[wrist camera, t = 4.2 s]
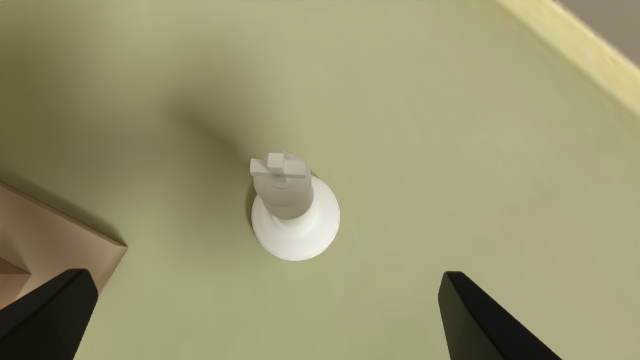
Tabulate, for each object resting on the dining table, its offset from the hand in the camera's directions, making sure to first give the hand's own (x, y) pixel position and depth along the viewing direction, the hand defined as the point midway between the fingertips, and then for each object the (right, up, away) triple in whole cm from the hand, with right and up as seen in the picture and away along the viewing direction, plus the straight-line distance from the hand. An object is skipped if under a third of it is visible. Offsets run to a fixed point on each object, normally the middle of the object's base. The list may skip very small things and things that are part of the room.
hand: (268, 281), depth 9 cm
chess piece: (0, 0, +11) cm, 11 cm away
